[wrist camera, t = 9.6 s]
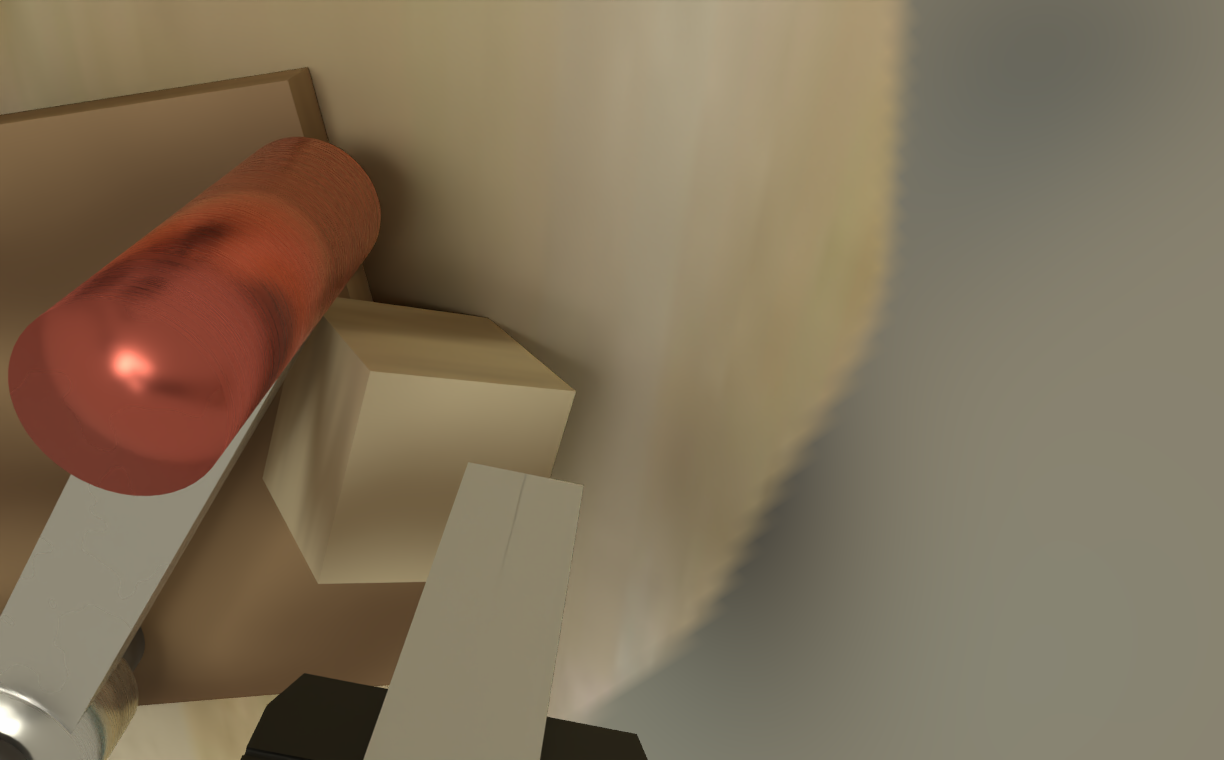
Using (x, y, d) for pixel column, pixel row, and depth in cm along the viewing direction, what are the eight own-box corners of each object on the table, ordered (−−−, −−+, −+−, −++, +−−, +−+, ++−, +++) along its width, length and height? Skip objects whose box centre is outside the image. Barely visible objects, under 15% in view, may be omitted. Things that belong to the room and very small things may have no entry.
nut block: (303, 292, 26) (369, 371, 22) (487, 318, 28) (575, 391, 25) (262, 478, 27) (318, 584, 23) (442, 484, 30) (518, 580, 26)
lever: (237, 81, 22) (-12, 223, 14) (443, 211, 23) (320, 411, 15) (-59, 693, 31) (-319, 997, 23) (101, 768, 32) (-92, 1083, 24)
